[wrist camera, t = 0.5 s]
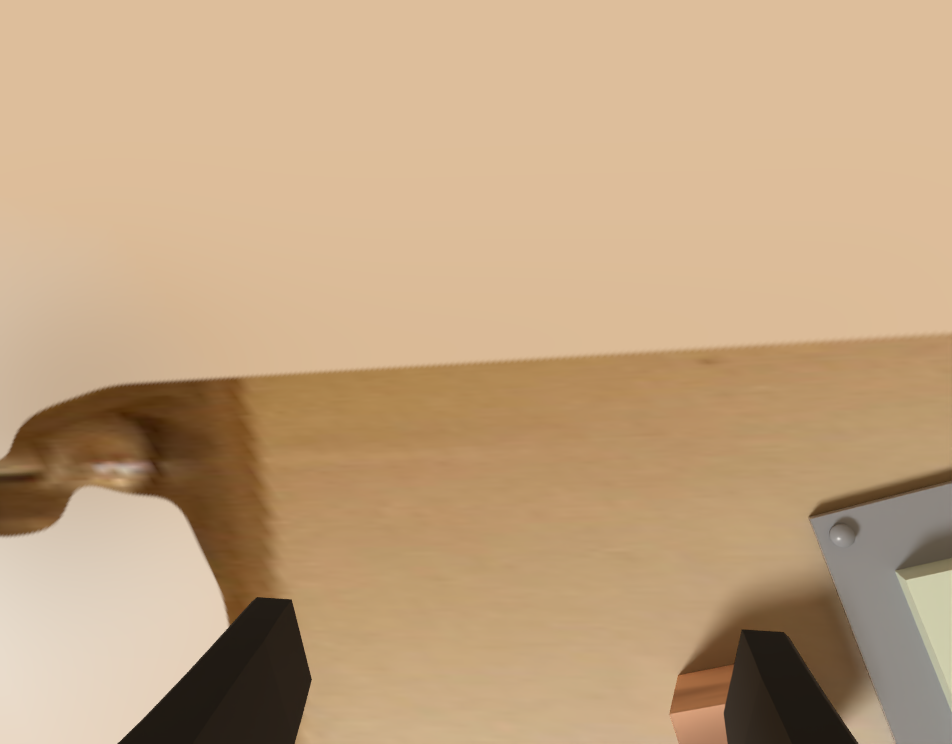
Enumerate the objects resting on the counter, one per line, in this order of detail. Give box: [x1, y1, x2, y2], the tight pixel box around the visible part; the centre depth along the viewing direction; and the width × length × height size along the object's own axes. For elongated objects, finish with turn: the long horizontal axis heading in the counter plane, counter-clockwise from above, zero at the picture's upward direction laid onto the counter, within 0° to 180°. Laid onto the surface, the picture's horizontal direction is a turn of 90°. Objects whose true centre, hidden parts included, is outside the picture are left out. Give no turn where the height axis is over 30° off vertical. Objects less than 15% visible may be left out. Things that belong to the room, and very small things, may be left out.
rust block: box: [670, 664, 734, 744], centre depth 30 cm, size 4×4×5 cm
